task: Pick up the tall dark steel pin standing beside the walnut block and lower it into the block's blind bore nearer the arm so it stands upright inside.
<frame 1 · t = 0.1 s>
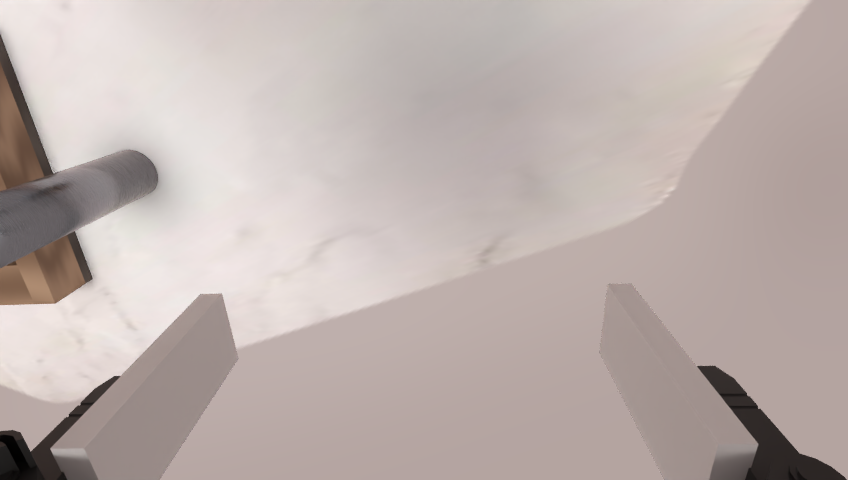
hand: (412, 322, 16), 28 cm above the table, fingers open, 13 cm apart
pin: (134, 173, 43), on the table
bore block: (0, 168, 44), on the table
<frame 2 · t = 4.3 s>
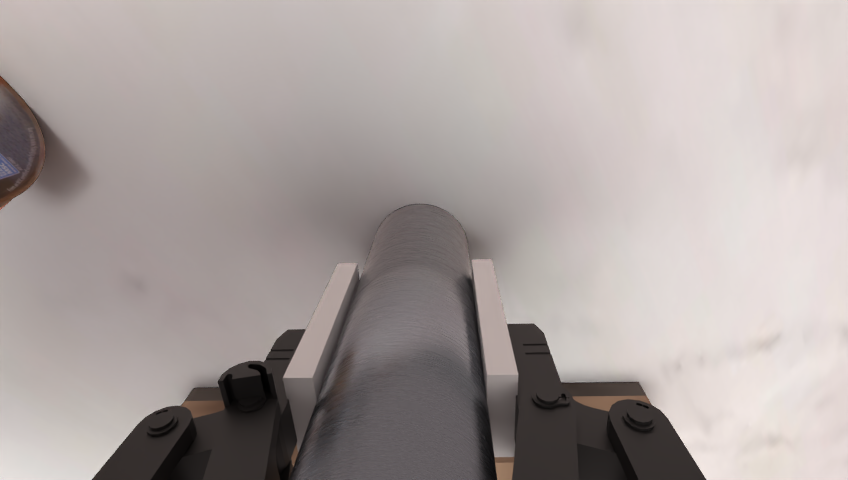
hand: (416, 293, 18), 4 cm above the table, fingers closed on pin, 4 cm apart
pin: (420, 248, 21), on the table, touching gripper
bore block: (415, 453, 27), on the table
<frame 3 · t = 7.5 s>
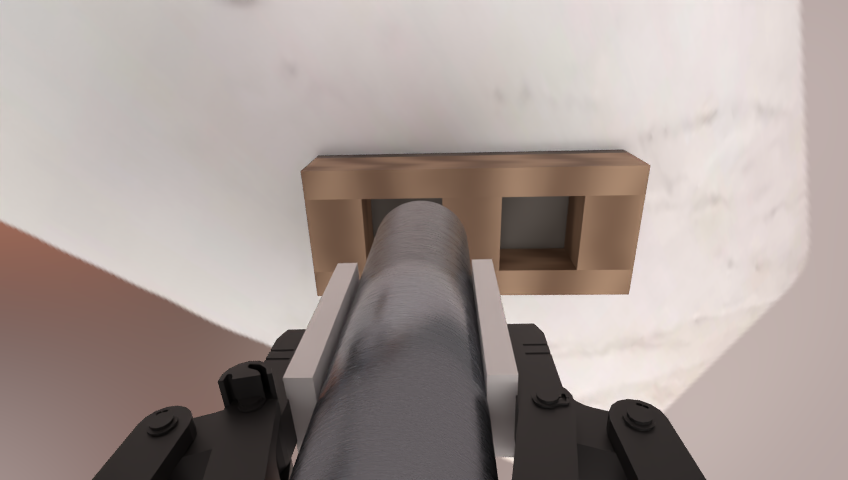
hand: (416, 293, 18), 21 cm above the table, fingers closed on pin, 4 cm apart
pin: (421, 244, 22), point 16 cm above the table, touching gripper
bore block: (468, 212, 38), on the table
when the fingers open (7 cm above the table, at t = 10.9 s): pin stays where it is, resting on bore block.
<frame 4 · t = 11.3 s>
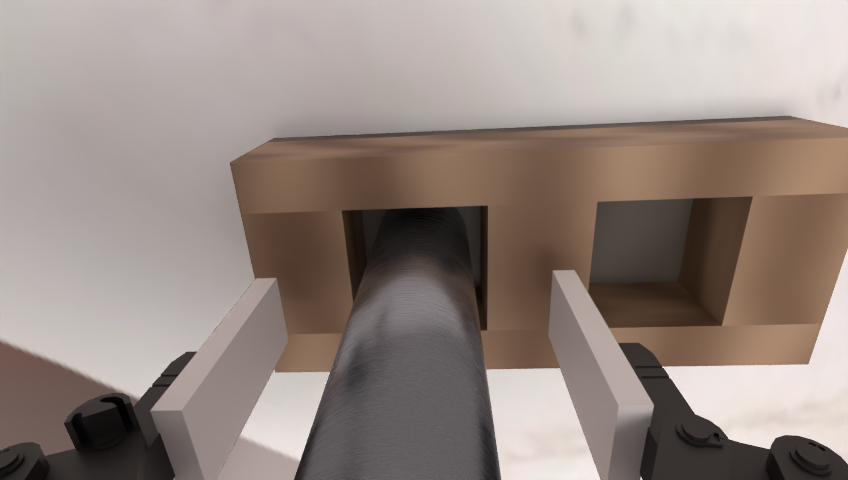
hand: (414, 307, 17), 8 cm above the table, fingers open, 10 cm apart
pin: (422, 236, 23), point 1 cm above the table, touching bore block
bore block: (520, 226, 24), on the table
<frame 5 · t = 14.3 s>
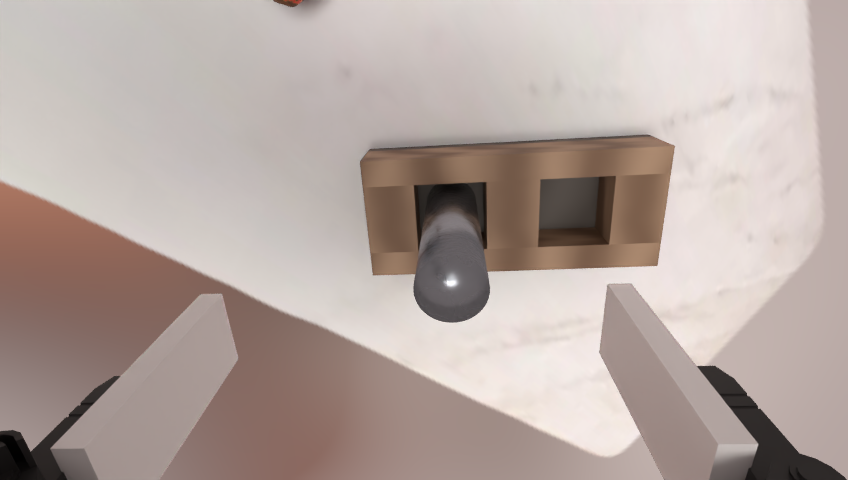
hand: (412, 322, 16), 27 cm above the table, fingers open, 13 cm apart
pin: (451, 202, 41), point 1 cm above the table, touching bore block
bore block: (505, 197, 42), on the table
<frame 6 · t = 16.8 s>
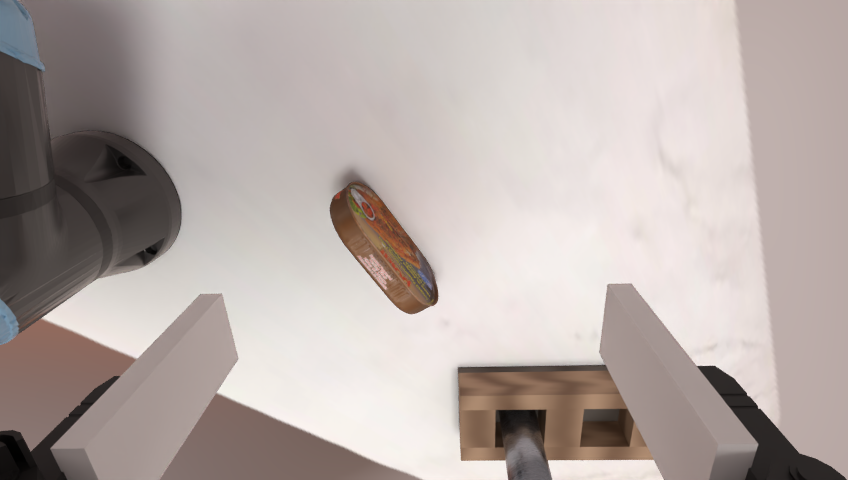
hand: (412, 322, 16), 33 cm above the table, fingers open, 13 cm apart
pin: (515, 404, 57), point 1 cm above the table, touching bore block
bore block: (553, 398, 58), on the table
tin: (390, 233, 50), on the table
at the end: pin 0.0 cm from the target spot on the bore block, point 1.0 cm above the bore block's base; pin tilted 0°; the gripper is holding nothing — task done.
